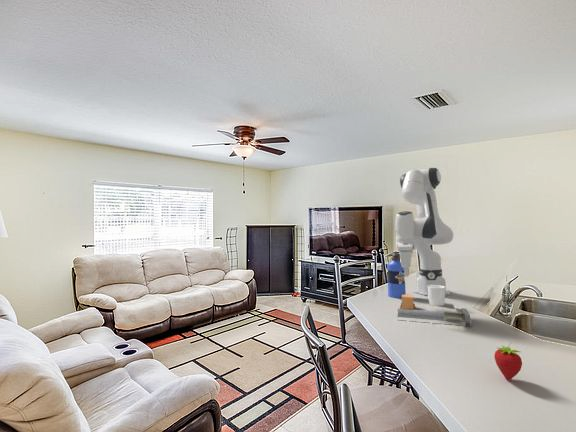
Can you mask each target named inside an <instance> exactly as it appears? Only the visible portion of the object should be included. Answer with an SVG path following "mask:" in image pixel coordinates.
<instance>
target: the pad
mask: <svg viewBox="0 0 576 432" xmlns="http://www.w3.org/2000/svg"><path fill="white" fill-rule="evenodd" d="M413 305H414V309H409V310H417V306H416V303H413ZM399 309H402V302H401V303H400V305H399Z"/></svg>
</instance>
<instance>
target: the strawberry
mask: <svg viewBox="0 0 576 432" xmlns="http://www.w3.org/2000/svg"><path fill="white" fill-rule="evenodd" d="M511 344H512V342H510V343H509V344H508V346H504V345H501V347H498V348H497V349H496V351H494V357H493V358H494V360H495V363H496V364H495V365H496V366H497V368H498V369H499V371H500V373H501V374H502V375H503V377H504V379H506V380H507V381H511V380H512V379H513V378H515V377H516V376H517V375H518V374H519V373H520V372H521V370H522V366H523V361H522V358H521V356H520V354H518V353H521V351H520V350H517V349H512V348H511V347H509V346H510V345H511Z"/></svg>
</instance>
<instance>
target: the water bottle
mask: <svg viewBox="0 0 576 432" xmlns="http://www.w3.org/2000/svg"><path fill="white" fill-rule="evenodd" d="M386 271H387V276H388V278H387V295H388V297H389V298H393V299H402V295H407V293H406V280H405V276H404V268H402V266H401V261H400V254H399V252H398V253H397V252H393V253H392V254H391V261H389V262H387V263H386Z"/></svg>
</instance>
